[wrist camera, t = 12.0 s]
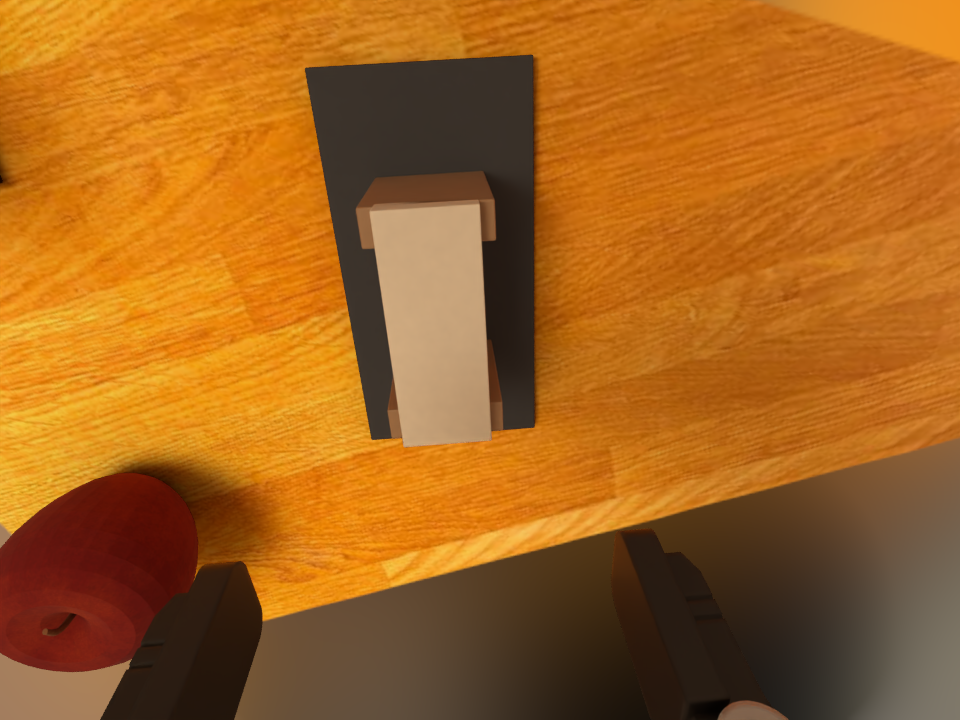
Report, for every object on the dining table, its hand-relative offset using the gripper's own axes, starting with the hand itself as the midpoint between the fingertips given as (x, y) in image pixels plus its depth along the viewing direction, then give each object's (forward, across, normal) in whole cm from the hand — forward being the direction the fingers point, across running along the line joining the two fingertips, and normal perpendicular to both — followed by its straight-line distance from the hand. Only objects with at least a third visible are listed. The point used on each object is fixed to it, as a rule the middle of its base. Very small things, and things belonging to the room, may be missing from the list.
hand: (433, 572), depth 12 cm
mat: (+19, 0, 0) cm, 19 cm away
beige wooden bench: (+19, 0, 0) cm, 19 cm away
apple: (+20, +20, +14) cm, 31 cm away
